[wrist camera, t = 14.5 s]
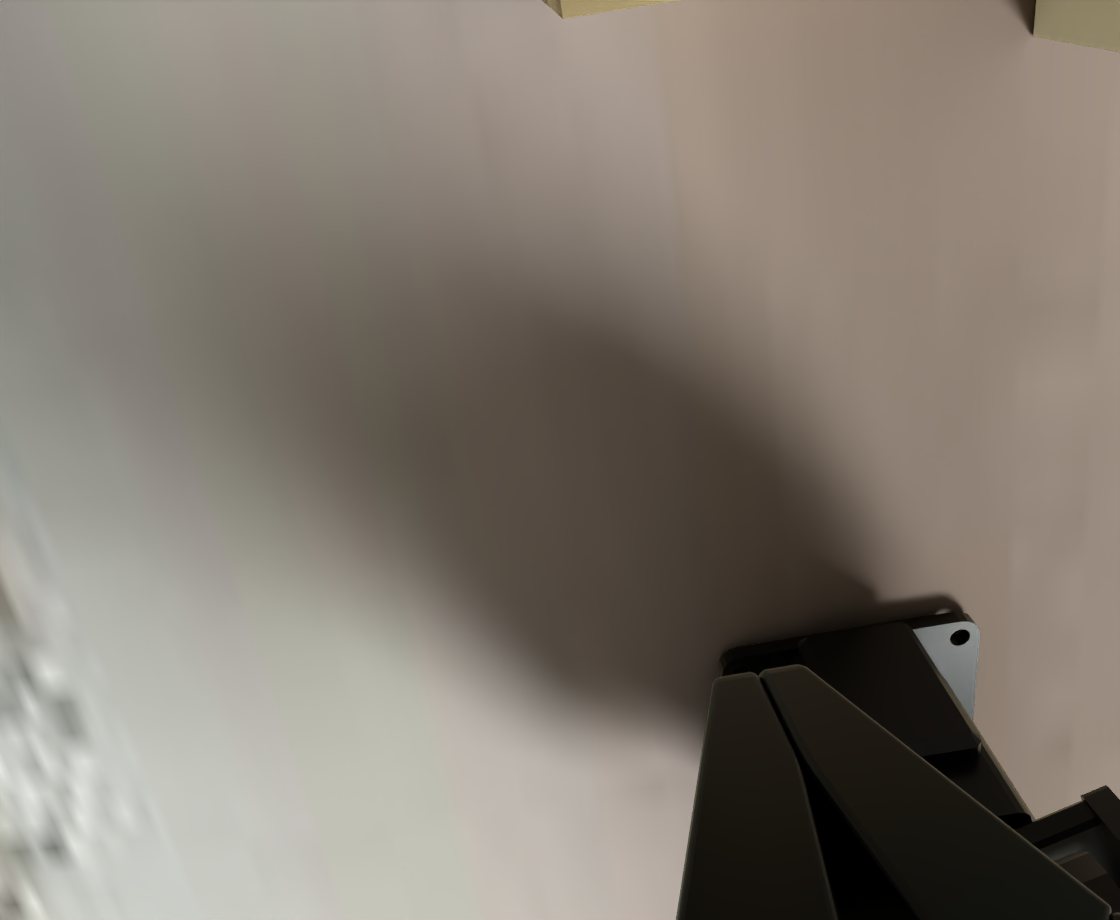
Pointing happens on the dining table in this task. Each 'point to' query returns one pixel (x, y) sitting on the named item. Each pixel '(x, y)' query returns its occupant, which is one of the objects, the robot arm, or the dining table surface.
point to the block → (595, 6)
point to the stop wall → (1079, 22)
